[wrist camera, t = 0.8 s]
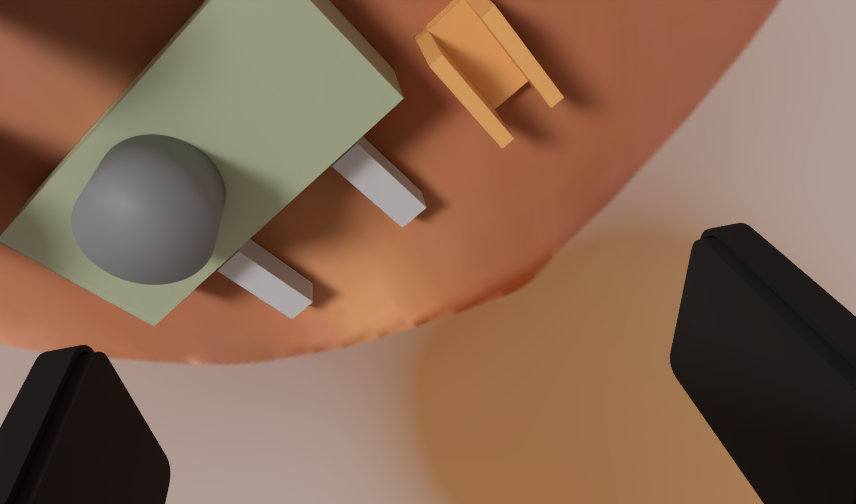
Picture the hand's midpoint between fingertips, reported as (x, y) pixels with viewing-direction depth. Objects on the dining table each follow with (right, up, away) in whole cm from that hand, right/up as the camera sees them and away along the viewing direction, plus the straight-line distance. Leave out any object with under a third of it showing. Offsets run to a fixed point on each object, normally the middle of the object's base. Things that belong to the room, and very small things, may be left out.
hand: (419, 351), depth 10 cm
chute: (+3, +13, +23) cm, 27 cm away
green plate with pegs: (-10, +6, +25) cm, 28 cm away
